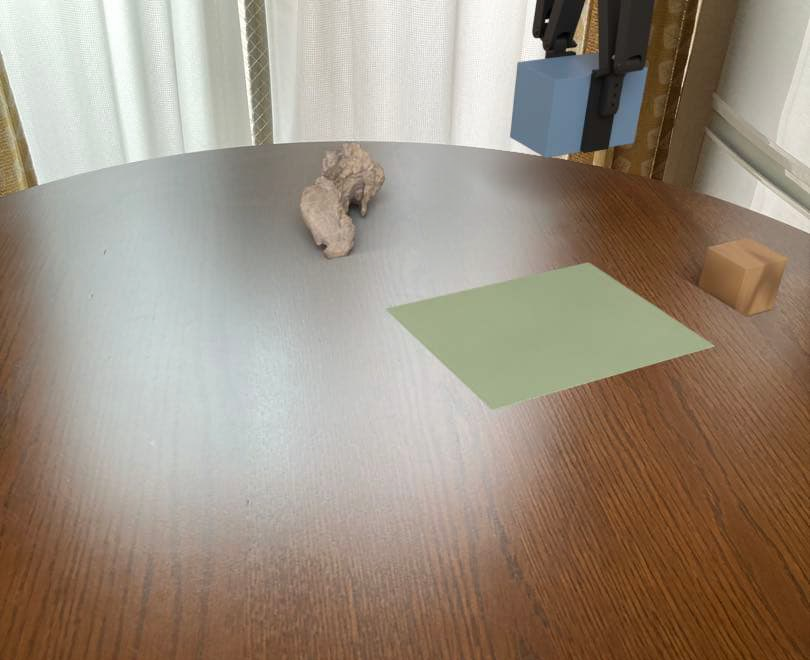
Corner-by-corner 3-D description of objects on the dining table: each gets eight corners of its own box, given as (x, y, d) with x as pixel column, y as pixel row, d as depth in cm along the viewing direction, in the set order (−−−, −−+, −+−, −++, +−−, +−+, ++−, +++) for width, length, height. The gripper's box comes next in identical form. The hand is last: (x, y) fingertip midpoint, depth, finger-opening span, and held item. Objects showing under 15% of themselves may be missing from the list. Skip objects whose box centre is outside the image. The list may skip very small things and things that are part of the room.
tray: (586, 274, 81) (588, 261, 80) (711, 359, 71) (715, 345, 70) (384, 322, 74) (384, 308, 73) (490, 424, 63) (492, 409, 62)
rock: (285, 253, 82) (280, 173, 78) (335, 195, 93) (333, 121, 88) (347, 262, 81) (346, 181, 77) (391, 203, 92) (393, 128, 87)
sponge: (595, 123, 90) (607, 51, 86) (634, 143, 86) (648, 67, 82) (509, 137, 86) (517, 61, 82) (545, 158, 83) (555, 80, 78)
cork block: (694, 297, 78) (734, 287, 80) (731, 320, 75) (772, 309, 77) (707, 246, 75) (748, 237, 77) (746, 268, 72) (788, 258, 74)
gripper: (510, -184, 76) (485, 113, 91) (660, -160, 63) (602, 178, 79) (584, -184, 78) (547, 104, 94) (741, -161, 66) (670, 166, 81)
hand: (572, 137), depth 86 cm, fingers closed on sponge, 6 cm apart
